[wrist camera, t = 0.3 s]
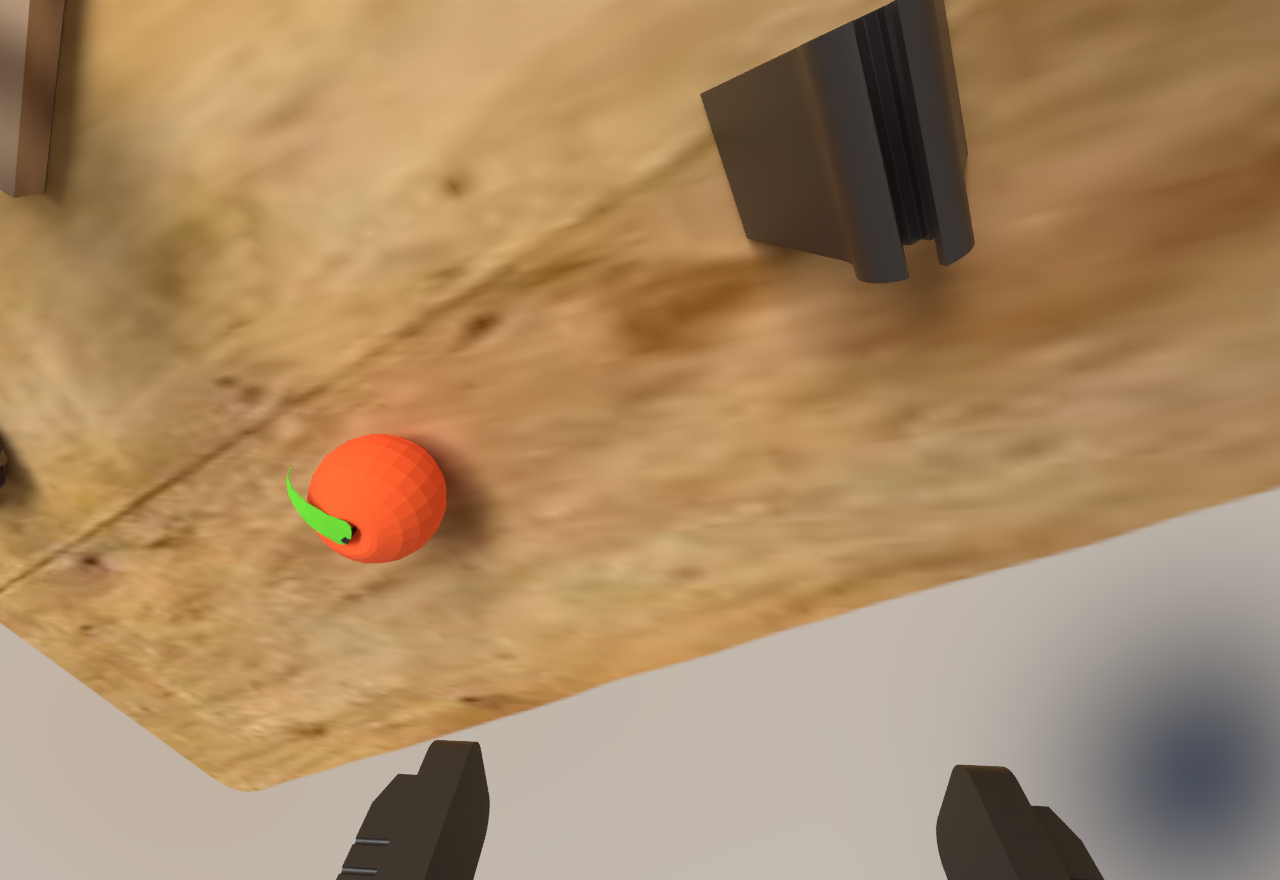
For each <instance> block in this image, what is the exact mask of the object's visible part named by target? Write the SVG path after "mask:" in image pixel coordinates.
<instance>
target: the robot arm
mask: <svg viewBox="0 0 1280 880" xmlns="http://www.w3.org/2000/svg"><path fill="white" fill-rule="evenodd" d="M489 808H490V801H489V792H488V787H487V781H486V775H485V770H484V764H483V759H482V753H481V748H480V745H479V743H478V742H468V741H446V740H435V741H434V742H433V743H432V744H431V745H430V747H429V749H428V751H427V753H426V755H425V758H424V760H423V762H422V765H421V767H420V769H419V772H418V774H417V775H409V774H408V775H407V774H398V775H397V776H396V777H395V778H394V779H393V780H392V781H391V783H390V784H389V785H388V786H387V787H386V788H385V789H384V790H383V791H382V793H381V794H380V795H379V796H378V797H377V798H376V799H375V800H374V801H373V803H372V804H371V807H370V809H369V811H368V813H367V815H366V817H365V819H364V821H363V824H362V826H361V828H360V830H359V833H358V834H357V836H356V842H355V844H353V845H352V847H351V849H350V852H349V853H348V856H347V858H346V860H345V862H344V864H343V869H342V872H341V874H339V875H338V877H337V879H336V880H473V878H474V875H475V871H476V868H477V864H478V861H479V857H480V854H481V850H482V847H483V843H484V840H485V836H486V831H487V826H488V819H489ZM936 826H937V827H936V835H937V844H938V850H939V855H940V858H941V862H942V865H943V868H944V871H945V873H946V876H947V879H948V880H1104V879H1103V877H1102V875H1101V873H1100V872H1099V870H1098V868H1097V867H1096V865H1095V863H1094V861H1093V860H1092V858H1091V856H1090V855H1089V853H1088V851H1087V849H1086V848H1085V846H1084V844H1083V843H1082V841H1081V840H1080V839H1079V838H1078V837H1077V836H1076V834H1075V833H1073V832H1072V830H1071V829H1070V828H1069V827H1068V826H1067V825H1066V824H1065V823H1064V822H1063V821H1062V820H1061V819H1060V818H1059V817H1058V816H1057V815H1056V814H1055V813H1054V812H1053V811H1052V810H1051V809H1050V808H1049V807H1045V806H1031V805H1030V803H1029V801H1028V799H1027V798H1026V796H1025V794H1024V792H1023V790H1022V788H1021V786H1020V784H1019V783H1018V781H1017V779H1016V777H1015V776H1014V775H1013V773H1012V772H1011V771H1010V770H1009V769H1007V768H1005V767H998V766H976V765H975V766H974V765H956V766H955V767H954V768H953V771H952V773H951V777H950V780H949V783H948V786H947V790H946V793H945V796H944V800H943V803H942V806H941V809H940V812H939V816H938V819H937V825H936Z"/></svg>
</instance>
